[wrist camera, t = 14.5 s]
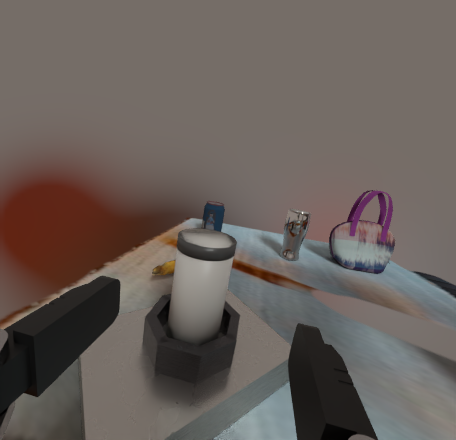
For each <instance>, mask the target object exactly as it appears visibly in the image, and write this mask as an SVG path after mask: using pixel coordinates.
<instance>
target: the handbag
mask: <svg viewBox="0 0 456 440" xmlns="http://www.w3.org/2000/svg"><path fill="white" fill-rule="evenodd" d="M372 191H373V190H372ZM367 192H370V191H366V192H364V193H363V194H362V195H361V196H360V197H359V198H358V199H357V201H356V202H355V204H354V205H353V207H352V210H351V212H350V214H349V217H348V220H347V222H344V223H341V224H339V225H337V226H336V227H335V228H333V230H332V231H331V234H330V237H329V248H330V254H331V255H332V257H333V258H335V259H336V260H337V261H338V262H339V263H340V264H341V265H342V266H344V267H346V268H348V269H353V270H359V271H365V272H370V273H377V274H378V273H381V272H383V271H384V269H385V267H386V265H387V263H389V259H390V257H391V255H392V253H393V250H394V246H395V239H394V237H393V234H392V233H391V232H390V231H389V230H388V229H389V225H390V222H391V217H392V211H393V206H392V200H391V197H390V196H389V194H387V193H385V192H382V191H373V192H371V193H369V194H368V195H367V196H366V197H365V198H364V199H363V200H362V198H363V197H364V195H365V194H366V193H367ZM383 193H385V194H387V195H388V198H389V208H388V214H387V218H386V221H385V224H384V227H383V226H382V225H383V221H384V219H385V216H386V201H385V197H384V195H383ZM376 195H378V199H379V203H380V216H379V220H378V223H374V222H370V221H362V220H359V218H360V215H361V213H362V211H363V209H364V207H365V206H366V205H367V203H368V202H369V201H370V200H371V199H372V198H373V197H374V196H376ZM361 200H362V202H361V203H360V201H361ZM359 203H360V204H359ZM358 205H359V206H358ZM357 207H358V208H357ZM356 209H357V210H356ZM355 212H356V213H355ZM354 214H355V216H354ZM353 218H354V219H353ZM389 264H390V263H389Z"/></svg>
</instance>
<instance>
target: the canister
mask: <svg viewBox="0 0 456 440" xmlns="http://www.w3.org/2000/svg"><path fill="white" fill-rule="evenodd" d="M236 244H237V241H236V240H235V238H233V237H232V236H230V235H228V234H225V233H222V232H219V231H215V230H210V229H200V228H193V229H185V230H182V231H180V232H179V234H178V241H177V254H176V262H175V270H174V278H173V286H172V294H171V302H170V310H169V317H168V325H167V333H166V335H167V337H168V338H172V339H176V340H180V341H183V342H187V343H191V344H194V345H198V346H201V345H203V344H206V343H208V342H210V341H213V340H215V339H218V336H219V331H220V326H221V320H222V315H223V310H224V304H225V299H226V294H227V288H228V283H229V278H230V273H231V267H232V262H233V257H234V254H235V249H236Z"/></svg>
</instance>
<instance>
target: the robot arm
mask: <svg viewBox="0 0 456 440" xmlns="http://www.w3.org/2000/svg"><path fill="white" fill-rule="evenodd" d="M119 305H120V281H119V280H118V279H114V278H110V277H106V276H100V277H98V278H96V279H95V280H93V281H92V282H90V283H88V284H85V285H82V286H79V287H76V288H74V289H71V290H70V291H68V292H66V293H64V294H63V295H61V296H60V297H59V298H56V299H54V300H53V301H51V302H50V303H49V304H46V305H44V306H43V307H41V308H39V309H38V310H36V311H34V312H32V313H31V314H29V315H27V316H26V317H24V318H22V319H21V320H19V321H17V322H16V323H14V324H12V325H11V326H9V327H7V328H6V329H4V330H3V329H0V440H2V439H3V437H4V434H5V432H6V429H7V426H8V424H9V421H10V419H11V416H12V413H13V411H14V407H15V400H16V399H17V398H18V397H19V396H21V395H22V394H23V393H26V394H29V395H32V396H35V397H39V396H40V395H41V394H42V393H43V392H44V391H45V390H46V389H47V388H48V387H49V386H50V385H51V384H52V383H53V382H54V381H55V380H56V379H57V378H58V377H59V376H60V375H61V374H62V373H63V372H64V371H65V370H66V369H67V368H68V367H69V366H70V365H71V364H72V363H73V362H74V361H75V360H76V359H77V358H78V357H79V356H80V355H81V354H82V353H83V352H84V351H85V350H86V349H87V348H88V347H89V346H90V345H91V344H92V343H93V342H94V341H95V340H96V339H97V338H98V337H99V336H100V335H101V334H103V333H104V332H105V331H106V330H107V329H108V328H109V327H110V326H111V325H112V324H113V322H114V321H115V319H116V318H117V315H118V313H119ZM288 373H289V381H290V388H291V396H292V403H293V411H294V418H295V426H296V433H297V440H378V439H377V436H376V434H375V432H374V429H373V427H372V425H371V423H370V420H369V418H368V416H367V414H366V411H365V409H364V407H363V404H362V402H361V400H360V398H359V395H358V393H357V391H356V389H355V387H354V386H353V382H352V379H351V377H350V375H348V370H347V368H346V366H345V364H344V361H343V359H342V357H341V356H340V355H339V354H338V353H337V351H336V350H335V349H334V348H333V347H332V345H328V344H324V341H323V339H322V336H321V333H320V331H319V329H318V328H316V327H312V326H308V325H304V324H300V323H299V324H298V325H297V327H296V331H295V334H294V338H293V342H292V345H291V349H290V353H289V359H288Z"/></svg>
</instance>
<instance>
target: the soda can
mask: <svg viewBox="0 0 456 440" xmlns="http://www.w3.org/2000/svg"><path fill="white" fill-rule="evenodd" d="M224 211H225V209H224V204H222V203H219V202H212V201H209V202H207V204H206V205H205V208H204V215H203V221H202V228H201V229H210V230H215V231H219V232H221V229H222V223H223V217H224Z"/></svg>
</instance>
